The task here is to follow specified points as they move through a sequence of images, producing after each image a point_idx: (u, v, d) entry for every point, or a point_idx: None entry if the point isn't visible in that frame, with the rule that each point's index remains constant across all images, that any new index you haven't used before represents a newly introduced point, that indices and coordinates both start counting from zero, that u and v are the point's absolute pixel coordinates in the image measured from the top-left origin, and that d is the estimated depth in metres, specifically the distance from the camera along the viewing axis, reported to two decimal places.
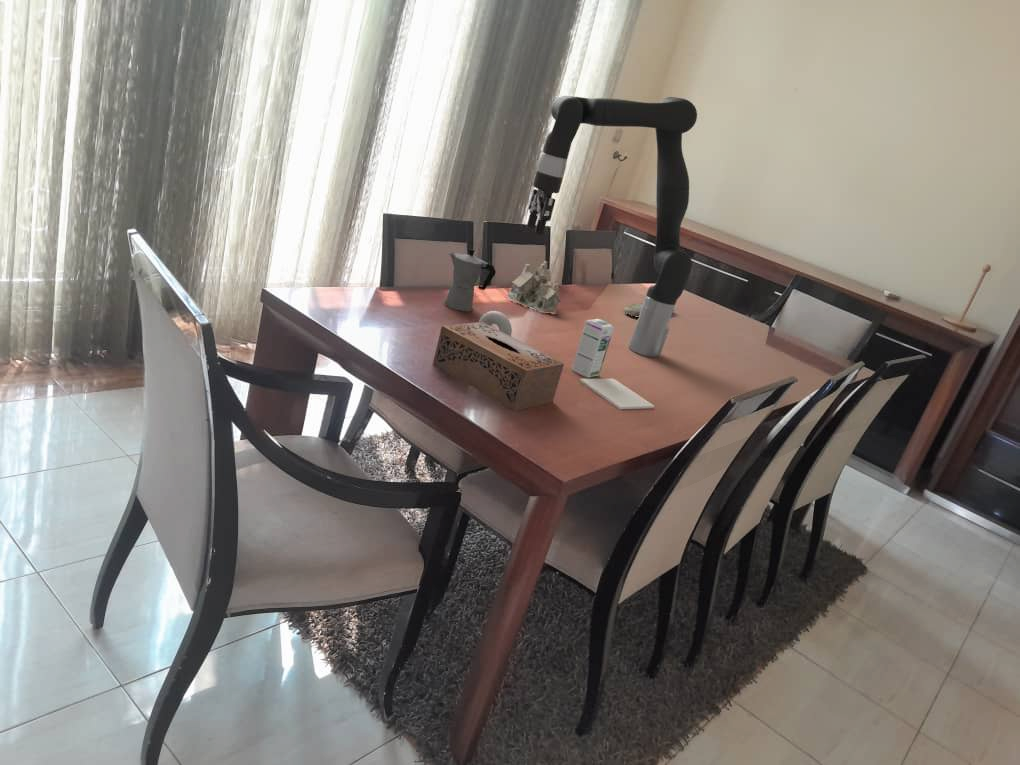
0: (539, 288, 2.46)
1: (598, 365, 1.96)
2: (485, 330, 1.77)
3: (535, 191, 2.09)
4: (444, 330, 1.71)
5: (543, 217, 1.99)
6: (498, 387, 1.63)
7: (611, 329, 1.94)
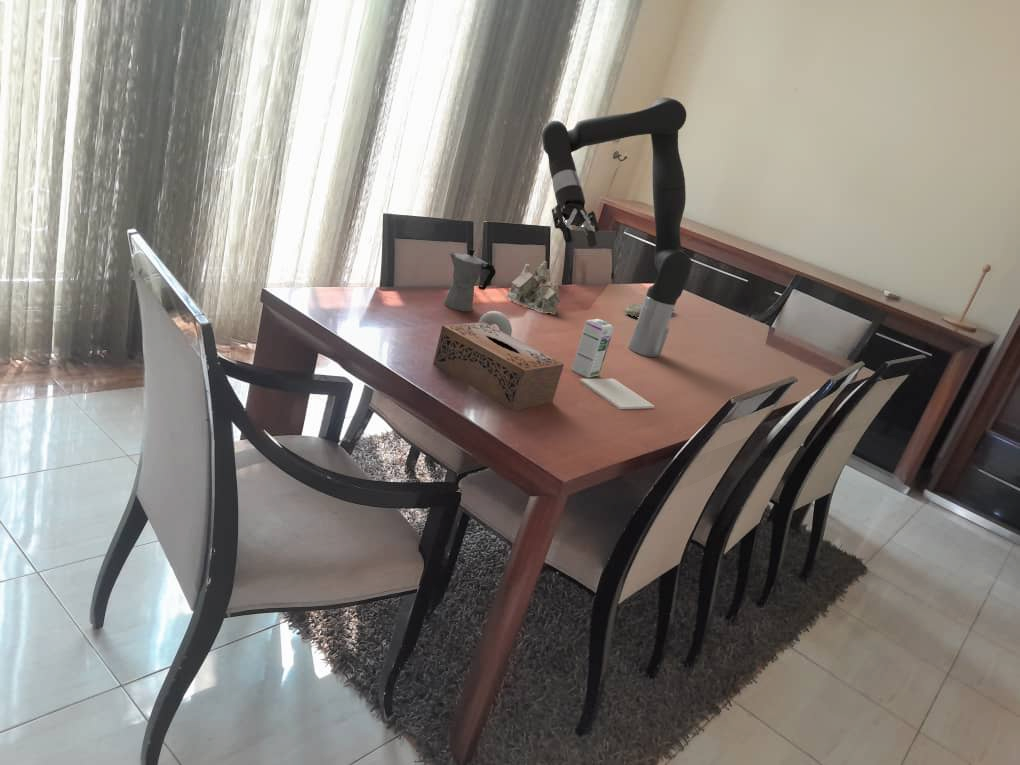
0: (539, 288, 2.46)
1: (598, 365, 1.96)
2: (486, 330, 1.77)
3: None
4: (444, 330, 1.71)
5: (555, 225, 1.96)
6: (497, 387, 1.63)
7: (611, 329, 1.94)
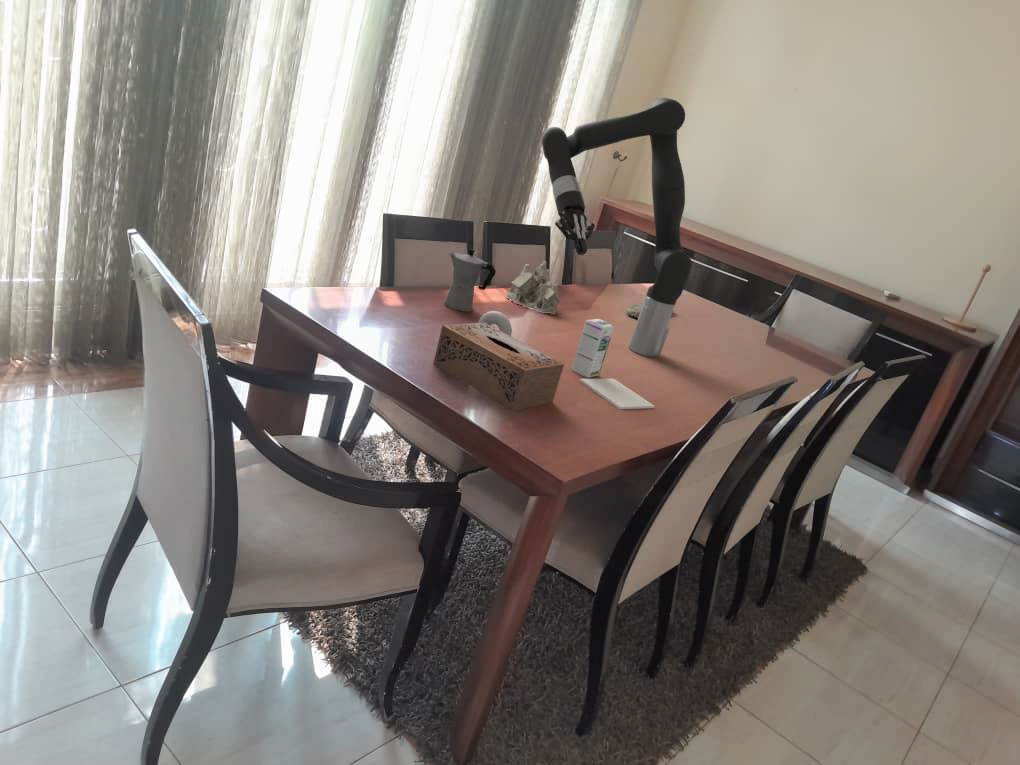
0: (538, 288, 2.45)
1: (598, 365, 1.96)
2: (486, 330, 1.77)
3: None
4: (444, 330, 1.71)
5: (567, 236, 1.99)
6: (497, 387, 1.63)
7: (611, 329, 1.94)
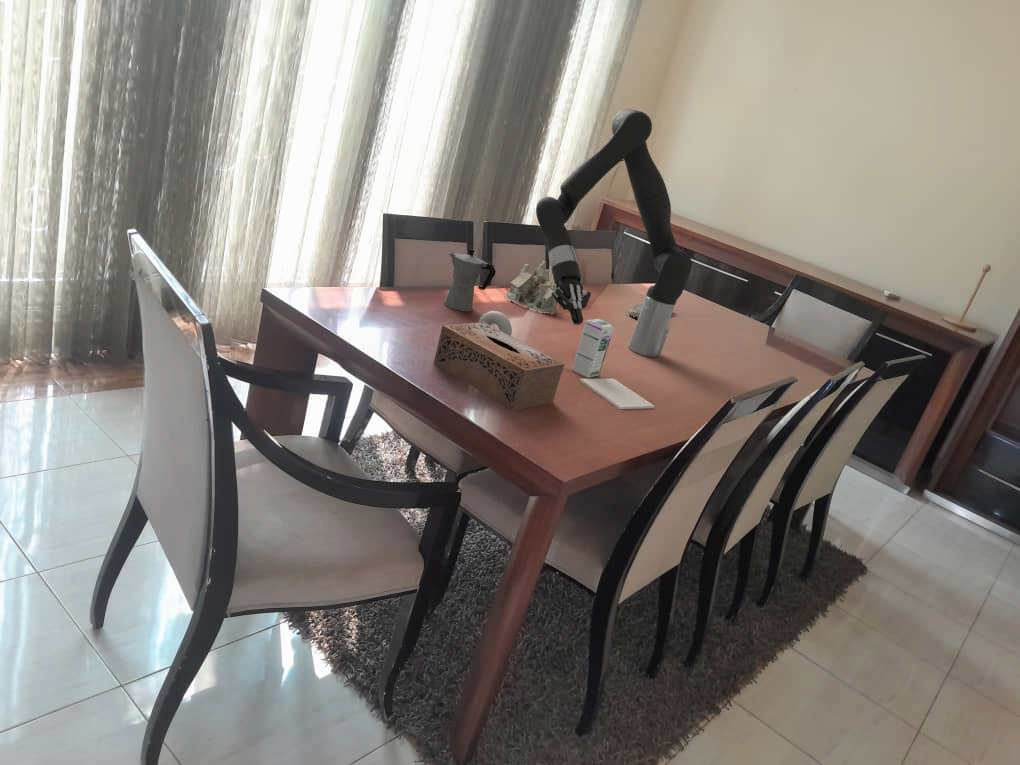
0: (538, 288, 2.45)
1: (598, 365, 1.96)
2: (486, 330, 1.77)
3: None
4: (445, 330, 1.71)
5: (563, 306, 2.00)
6: (497, 387, 1.63)
7: (611, 329, 1.94)
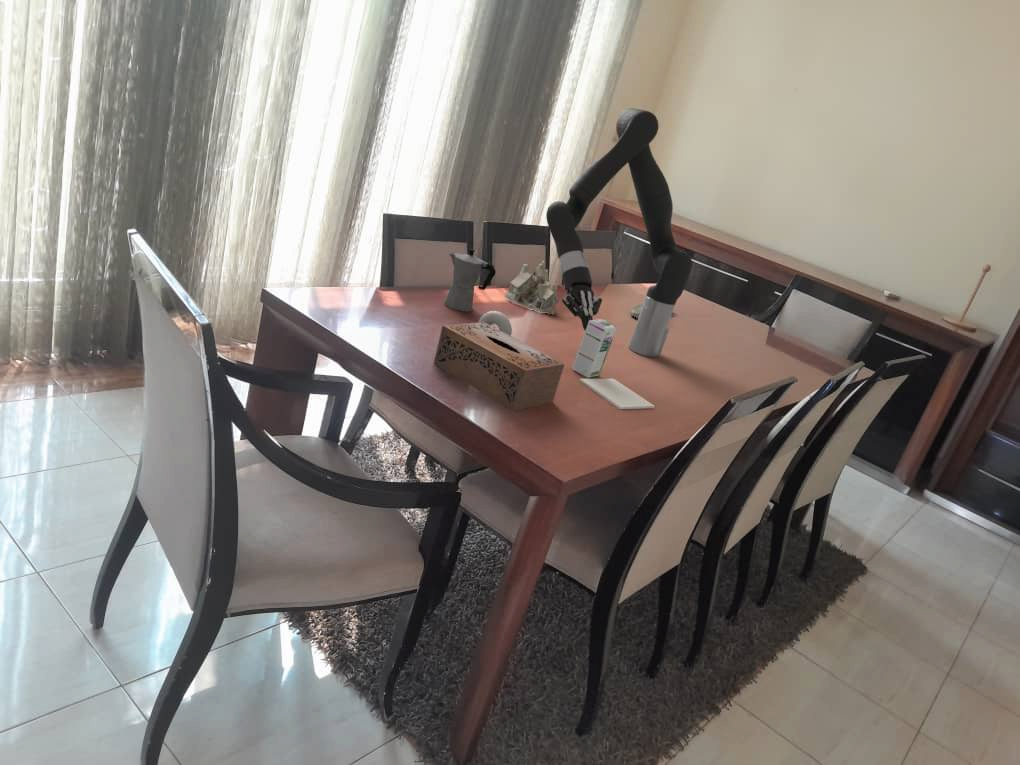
0: (537, 288, 2.45)
1: (598, 366, 1.96)
2: (486, 330, 1.77)
3: None
4: (445, 330, 1.71)
5: (574, 313, 1.96)
6: (498, 387, 1.63)
7: (614, 330, 1.93)
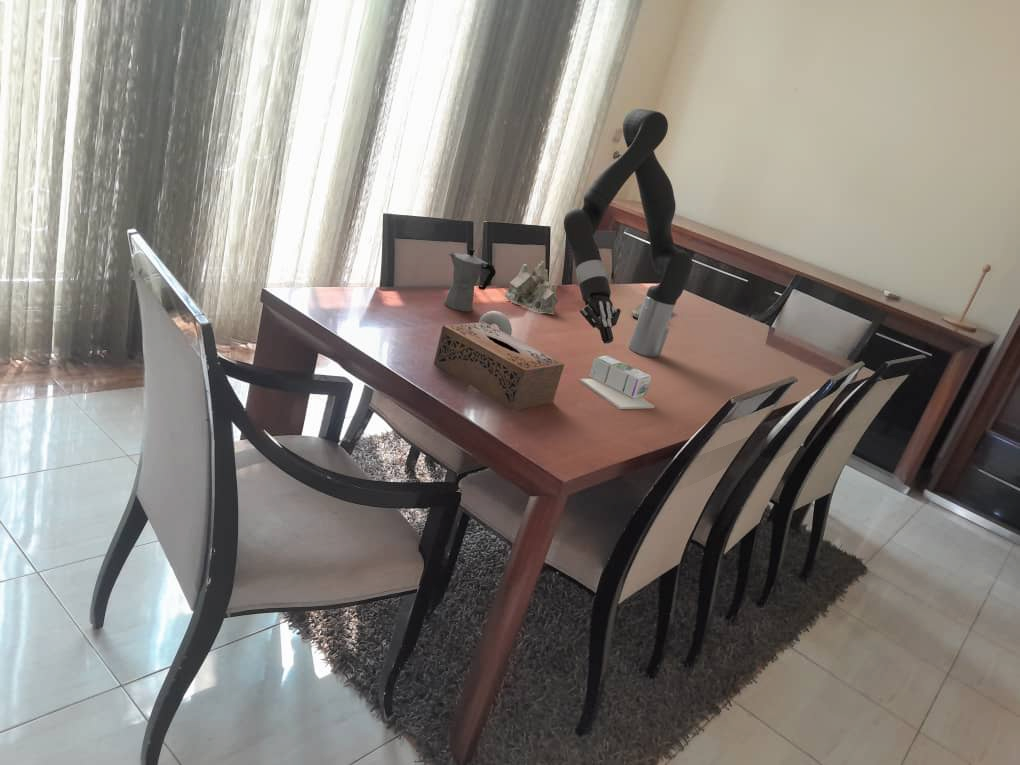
0: (537, 288, 2.44)
1: None
2: (486, 330, 1.77)
3: None
4: (445, 330, 1.71)
5: (592, 325, 1.91)
6: (498, 387, 1.63)
7: None
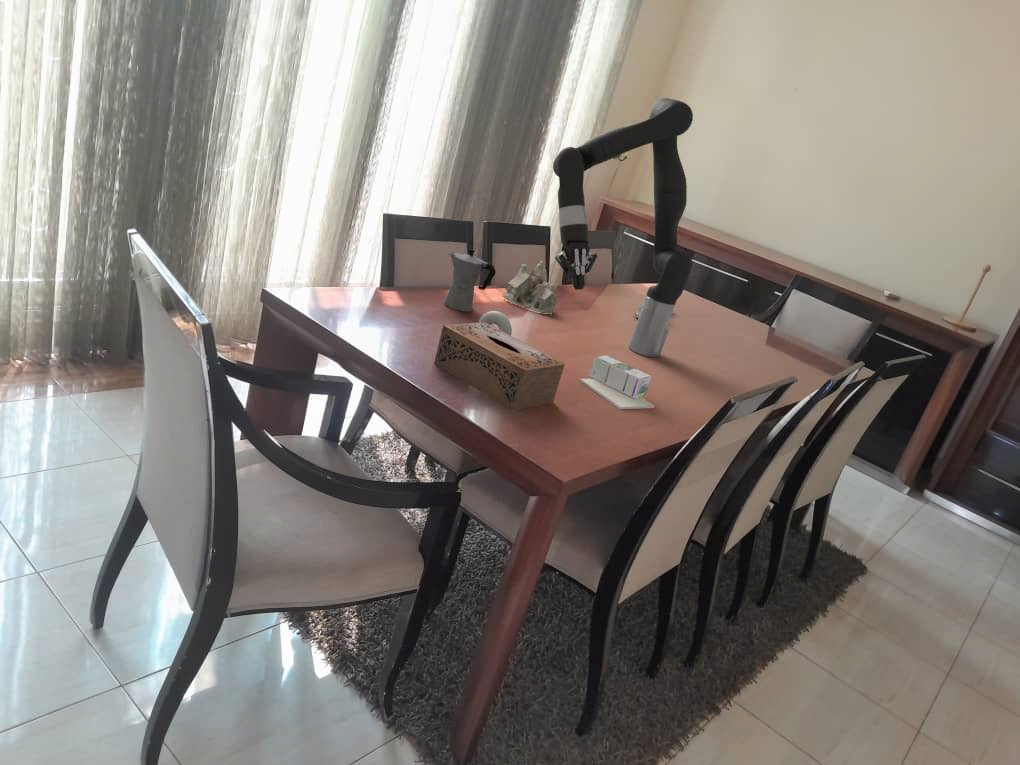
0: (536, 289, 2.44)
1: None
2: (487, 330, 1.77)
3: None
4: (445, 329, 1.72)
5: (566, 271, 1.99)
6: (498, 387, 1.63)
7: None
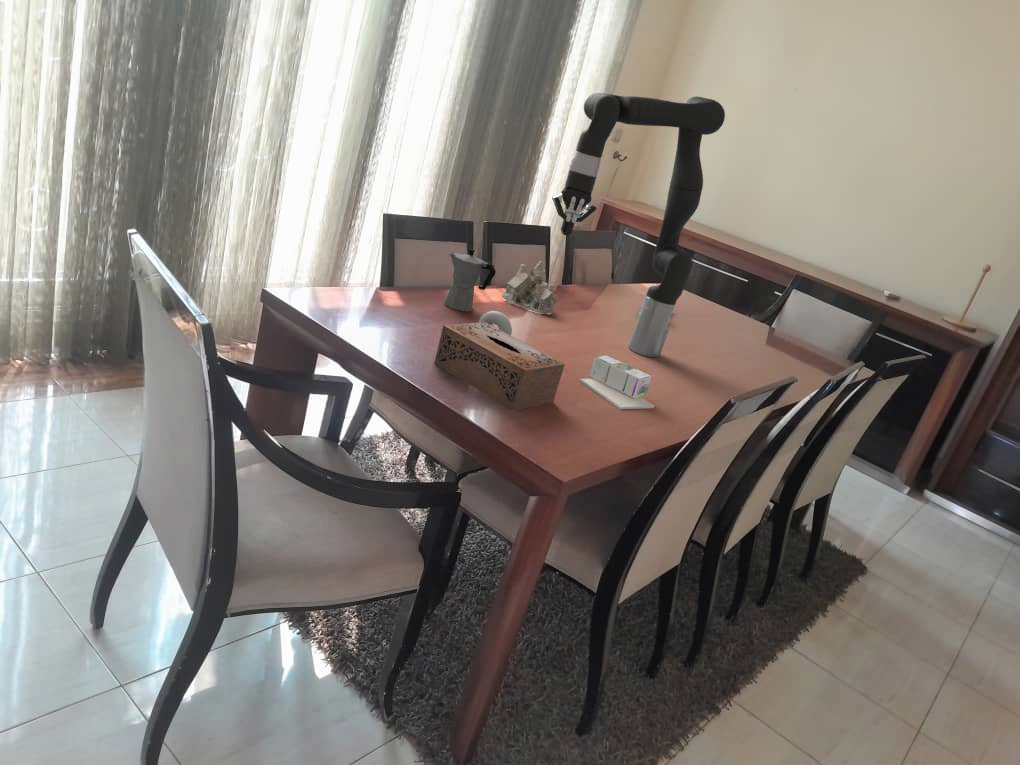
0: (535, 289, 2.43)
1: None
2: (487, 330, 1.77)
3: None
4: (445, 330, 1.72)
5: (558, 213, 2.02)
6: (498, 387, 1.63)
7: None
